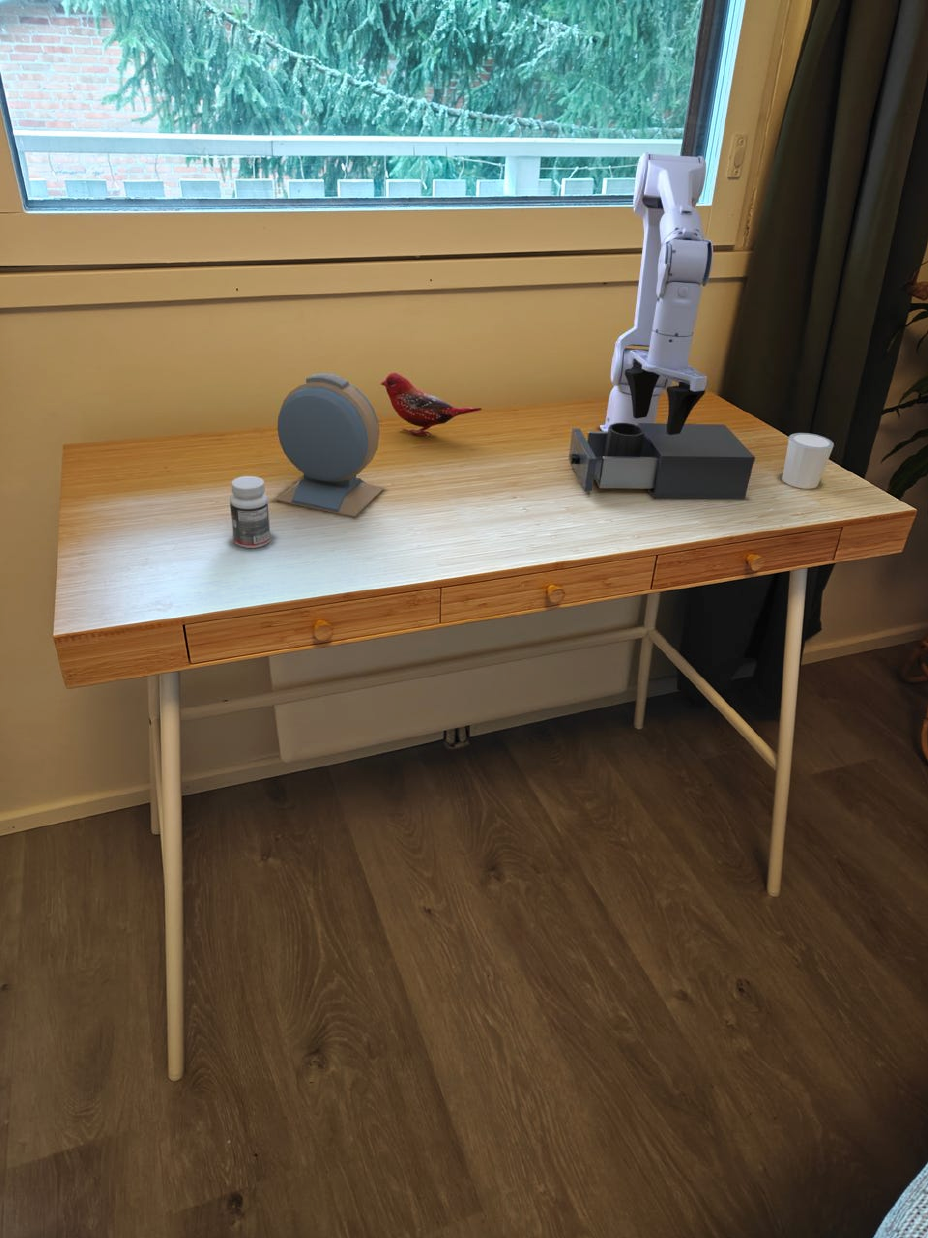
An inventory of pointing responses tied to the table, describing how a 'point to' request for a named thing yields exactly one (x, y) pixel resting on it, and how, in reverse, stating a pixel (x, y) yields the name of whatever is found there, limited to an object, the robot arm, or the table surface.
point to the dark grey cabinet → (699, 462)
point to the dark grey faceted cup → (624, 440)
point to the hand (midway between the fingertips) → (656, 425)
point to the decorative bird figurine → (419, 404)
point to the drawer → (610, 463)
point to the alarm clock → (329, 444)
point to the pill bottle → (249, 512)
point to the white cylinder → (806, 459)
